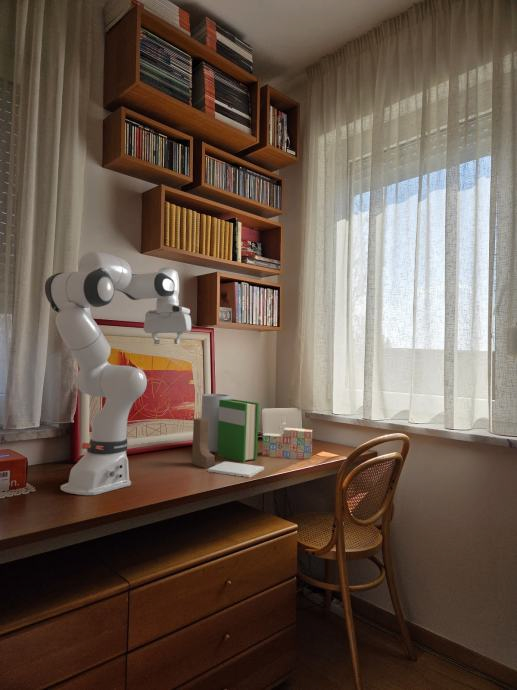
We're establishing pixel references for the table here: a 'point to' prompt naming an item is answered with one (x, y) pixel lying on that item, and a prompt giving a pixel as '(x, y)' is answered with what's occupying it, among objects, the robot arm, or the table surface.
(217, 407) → the cylinder vase
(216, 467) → the white flat panel
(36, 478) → the table surface
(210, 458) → the wooden block
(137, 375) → the robot arm
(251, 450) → the hardback book
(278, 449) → the stack of blocks
